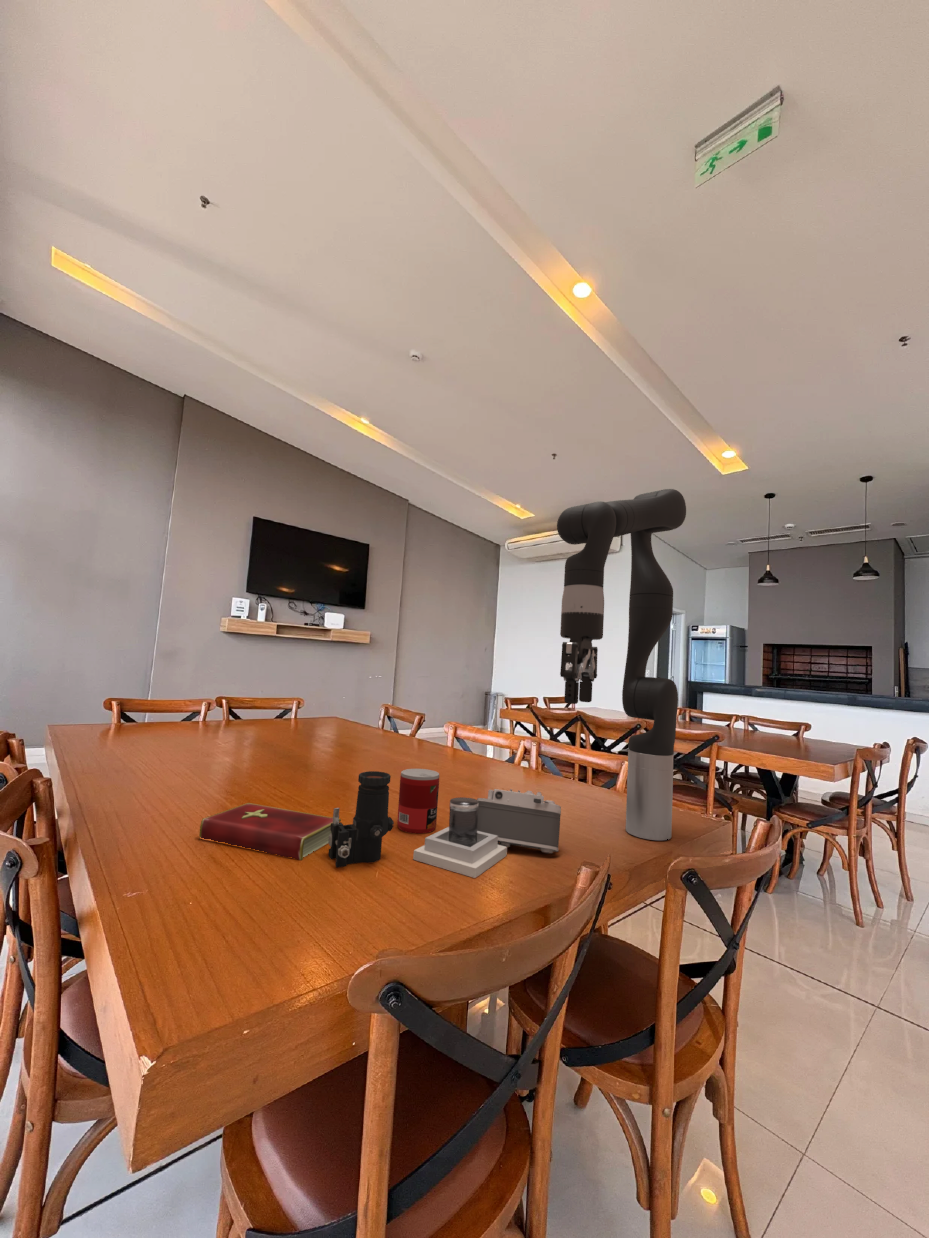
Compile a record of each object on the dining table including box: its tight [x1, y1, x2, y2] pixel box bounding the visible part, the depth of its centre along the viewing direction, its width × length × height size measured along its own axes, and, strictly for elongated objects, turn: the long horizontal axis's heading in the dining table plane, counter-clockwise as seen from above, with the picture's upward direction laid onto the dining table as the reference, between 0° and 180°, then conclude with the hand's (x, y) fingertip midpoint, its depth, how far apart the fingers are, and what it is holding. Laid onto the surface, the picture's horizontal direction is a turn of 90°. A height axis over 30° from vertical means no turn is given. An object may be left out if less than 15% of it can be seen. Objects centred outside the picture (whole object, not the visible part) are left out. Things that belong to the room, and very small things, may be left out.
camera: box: [476, 788, 562, 855], centre depth 98 cm, size 9×16×10 cm, turn 83°
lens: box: [448, 796, 479, 847], centre depth 90 cm, size 5×5×8 cm
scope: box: [327, 770, 394, 868], centre depth 86 cm, size 8×14×10 cm
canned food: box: [396, 768, 440, 835], centre depth 104 cm, size 8×8×11 cm
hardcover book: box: [198, 802, 342, 861], centre depth 92 cm, size 12×21×4 cm, turn 73°
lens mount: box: [412, 826, 508, 879], centre depth 89 cm, size 12×12×4 cm
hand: (578, 702), depth 91 cm, fingers open, 8 cm apart
